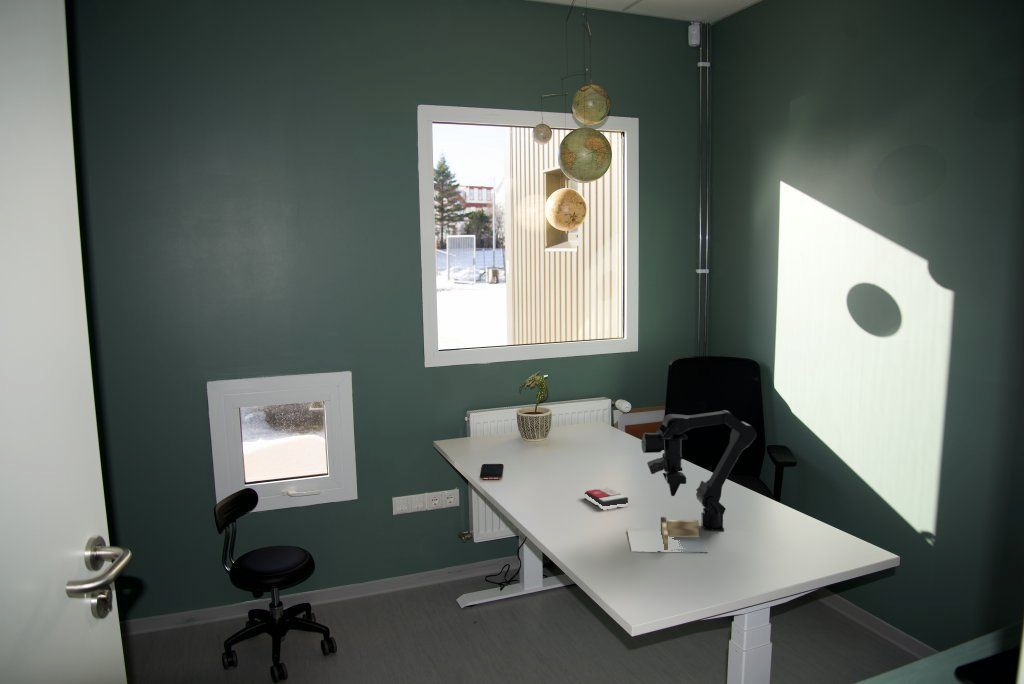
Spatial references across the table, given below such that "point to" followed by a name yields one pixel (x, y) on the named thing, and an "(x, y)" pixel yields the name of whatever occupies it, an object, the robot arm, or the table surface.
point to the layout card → (690, 543)
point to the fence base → (681, 527)
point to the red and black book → (607, 496)
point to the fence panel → (665, 535)
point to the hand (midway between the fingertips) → (672, 495)
